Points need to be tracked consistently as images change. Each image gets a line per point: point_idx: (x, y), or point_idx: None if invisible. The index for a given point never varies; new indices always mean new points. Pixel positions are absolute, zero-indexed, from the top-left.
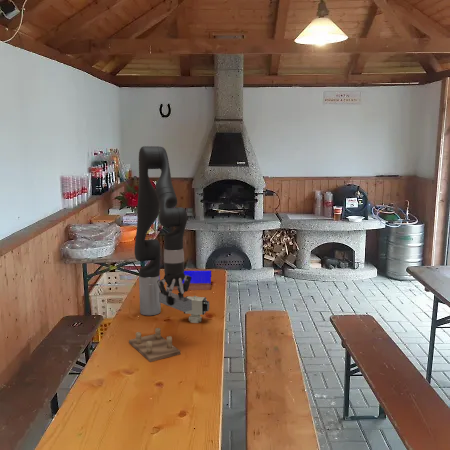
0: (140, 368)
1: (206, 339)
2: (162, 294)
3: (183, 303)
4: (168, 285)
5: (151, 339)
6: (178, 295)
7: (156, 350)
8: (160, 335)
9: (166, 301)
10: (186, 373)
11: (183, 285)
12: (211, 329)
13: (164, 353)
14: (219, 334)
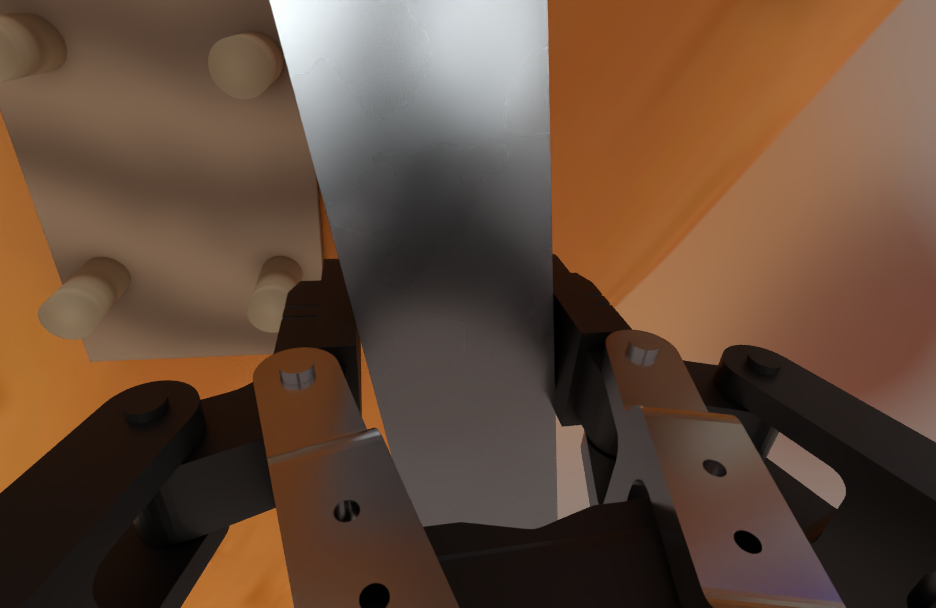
0: (17, 393)
1: (584, 235)
2: (286, 44)
3: None
4: (358, 522)
5: (189, 36)
6: (537, 370)
7: (171, 271)
8: (273, 81)
9: (287, 301)
10: (263, 512)
11: (805, 437)
12: (736, 96)
13: (214, 337)
14: (698, 210)
